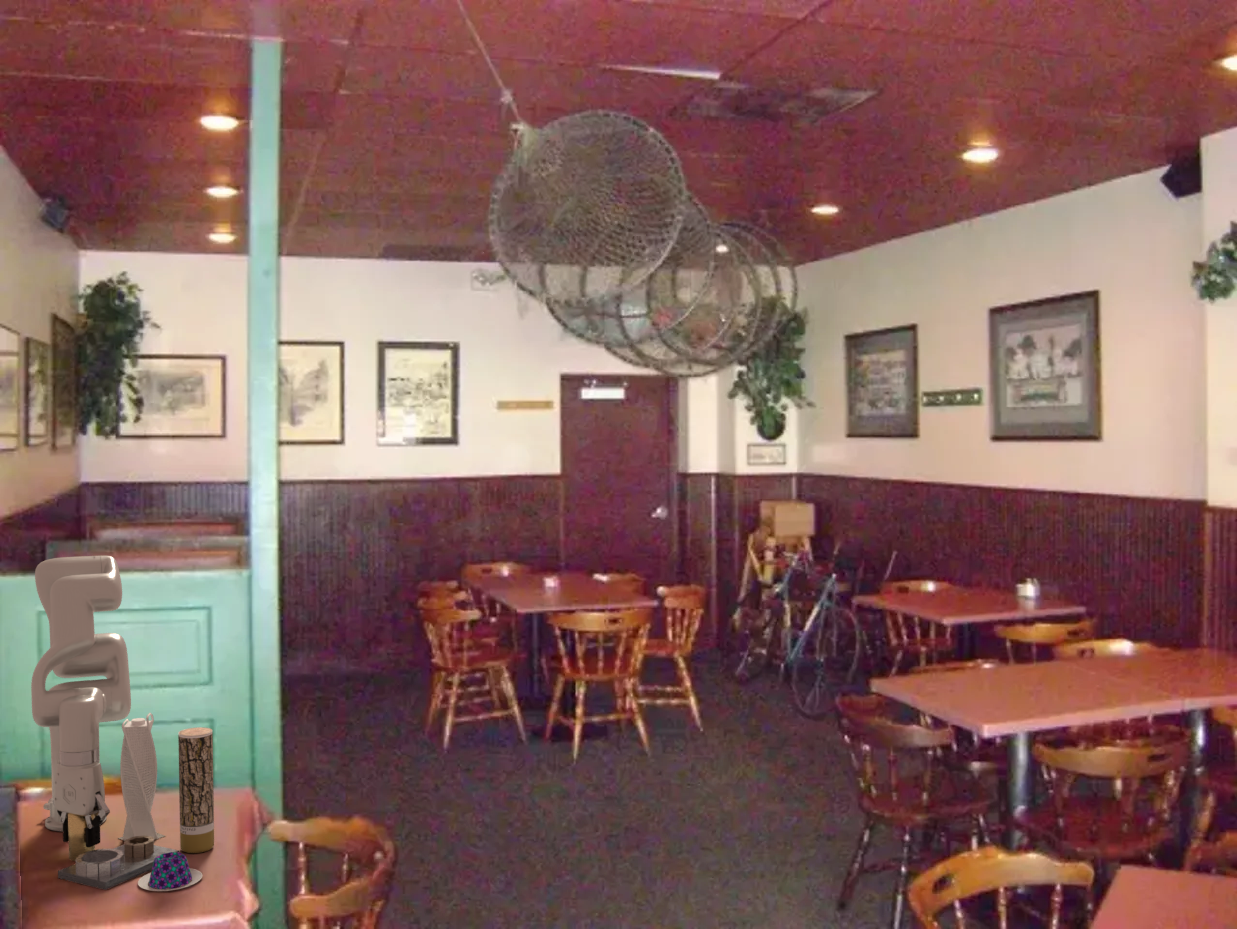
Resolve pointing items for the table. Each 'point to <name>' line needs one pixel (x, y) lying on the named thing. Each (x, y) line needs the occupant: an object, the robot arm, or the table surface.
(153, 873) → the pudding
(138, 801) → the skyscraper
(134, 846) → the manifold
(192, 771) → the paper tube
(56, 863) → the table surface
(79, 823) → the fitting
